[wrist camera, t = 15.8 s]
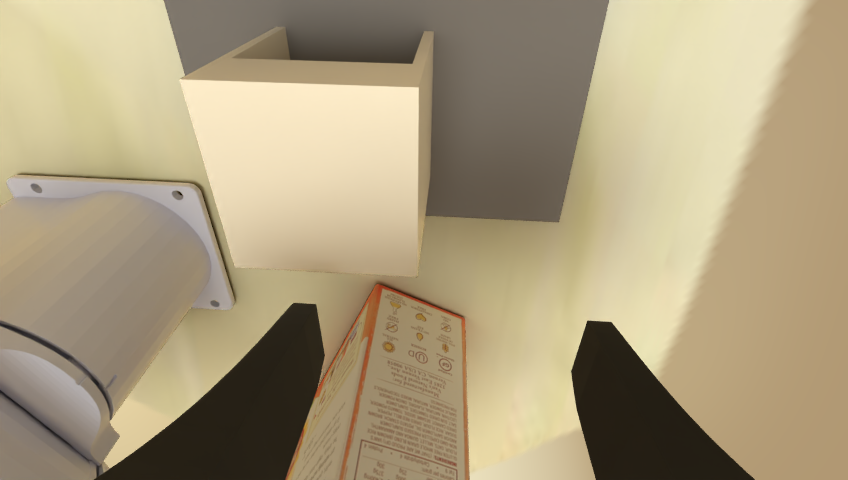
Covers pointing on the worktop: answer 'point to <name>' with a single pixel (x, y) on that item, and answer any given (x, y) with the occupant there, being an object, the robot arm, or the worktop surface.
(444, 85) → the mat
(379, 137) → the box
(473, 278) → the worktop surface
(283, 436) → the robot arm
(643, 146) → the worktop surface
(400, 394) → the cracker box
